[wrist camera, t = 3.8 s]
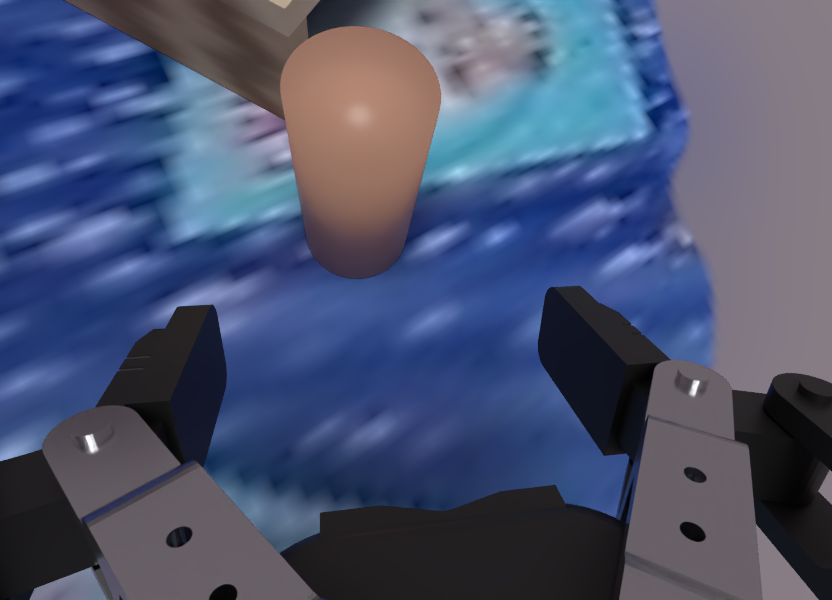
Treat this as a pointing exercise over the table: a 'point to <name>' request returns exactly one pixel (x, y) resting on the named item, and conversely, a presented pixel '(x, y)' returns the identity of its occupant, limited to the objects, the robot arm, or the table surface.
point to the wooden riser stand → (217, 37)
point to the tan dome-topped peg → (358, 143)
